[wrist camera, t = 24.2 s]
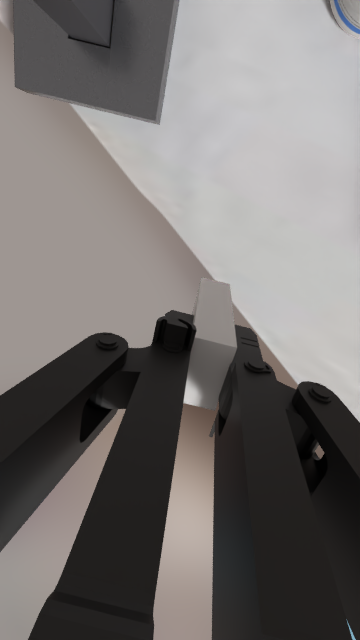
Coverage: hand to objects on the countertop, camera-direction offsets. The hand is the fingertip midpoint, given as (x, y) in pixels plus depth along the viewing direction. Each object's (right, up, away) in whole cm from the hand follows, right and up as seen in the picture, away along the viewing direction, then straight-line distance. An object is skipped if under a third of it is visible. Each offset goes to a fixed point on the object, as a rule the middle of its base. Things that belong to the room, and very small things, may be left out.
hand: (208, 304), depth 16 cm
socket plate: (-10, +31, +16) cm, 36 cm away
